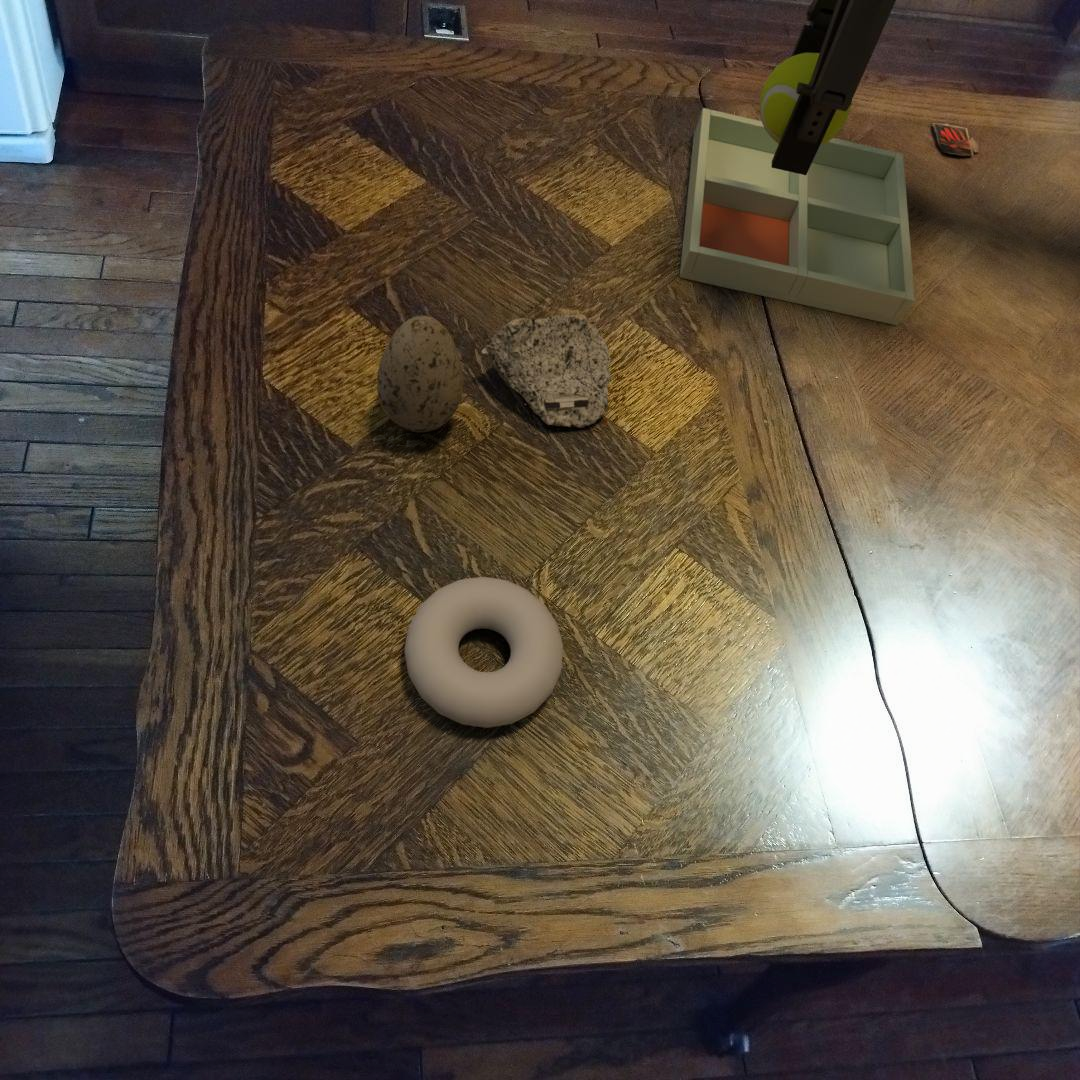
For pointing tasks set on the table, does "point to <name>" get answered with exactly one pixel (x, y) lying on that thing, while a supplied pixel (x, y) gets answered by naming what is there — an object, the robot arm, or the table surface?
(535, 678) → the donut
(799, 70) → the tennis ball
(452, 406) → the decorative egg
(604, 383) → the rock sample
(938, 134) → the matchbox
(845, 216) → the grid
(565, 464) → the table surface
